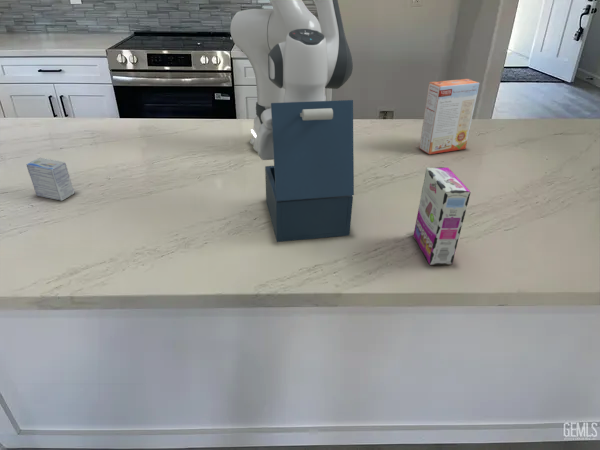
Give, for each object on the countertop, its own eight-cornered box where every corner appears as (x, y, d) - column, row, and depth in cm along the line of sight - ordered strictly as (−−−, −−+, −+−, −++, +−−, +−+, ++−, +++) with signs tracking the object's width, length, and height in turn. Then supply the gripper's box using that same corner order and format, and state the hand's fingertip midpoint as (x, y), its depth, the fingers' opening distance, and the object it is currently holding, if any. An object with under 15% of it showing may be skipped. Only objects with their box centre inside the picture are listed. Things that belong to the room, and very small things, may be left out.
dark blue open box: (266, 201, 108) (265, 166, 103) (329, 197, 111) (331, 162, 106) (276, 242, 93) (276, 202, 88) (349, 235, 96) (353, 196, 91)
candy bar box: (453, 265, 87) (472, 191, 79) (429, 266, 87) (445, 192, 78) (434, 234, 97) (449, 165, 88) (412, 235, 96) (425, 166, 88)
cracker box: (454, 143, 144) (467, 77, 133) (466, 149, 140) (481, 82, 129) (417, 148, 140) (428, 80, 129) (428, 155, 135) (441, 85, 124)
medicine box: (75, 193, 110) (66, 161, 105) (61, 201, 106) (51, 168, 102) (50, 188, 112) (40, 156, 107) (36, 196, 108) (25, 163, 104)
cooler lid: (270, 103, 84) (274, 102, 79) (351, 100, 86) (360, 99, 81) (276, 200, 88) (279, 205, 83) (352, 194, 91) (360, 199, 86)
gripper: (347, 108, 97) (343, 166, 104) (255, 111, 94) (257, 171, 101) (356, 117, 92) (350, 177, 99) (258, 121, 88) (260, 183, 96)
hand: (302, 174), depth 100 cm, fingers closed on shot glass, 5 cm apart
